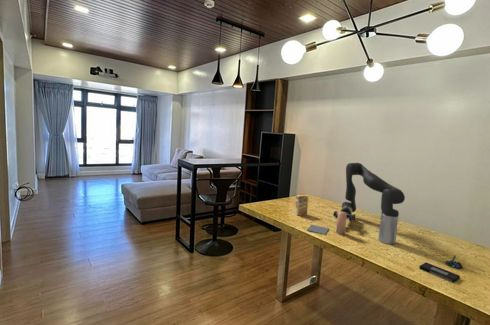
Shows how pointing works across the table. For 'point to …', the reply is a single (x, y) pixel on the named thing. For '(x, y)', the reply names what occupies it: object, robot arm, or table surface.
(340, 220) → the terracotta canister
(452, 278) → the vhs tape
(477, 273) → the table surface
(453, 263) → the dark blue compact piece
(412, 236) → the table surface
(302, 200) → the candy box
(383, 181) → the robot arm
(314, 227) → the rubber mat
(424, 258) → the table surface
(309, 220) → the table surface
